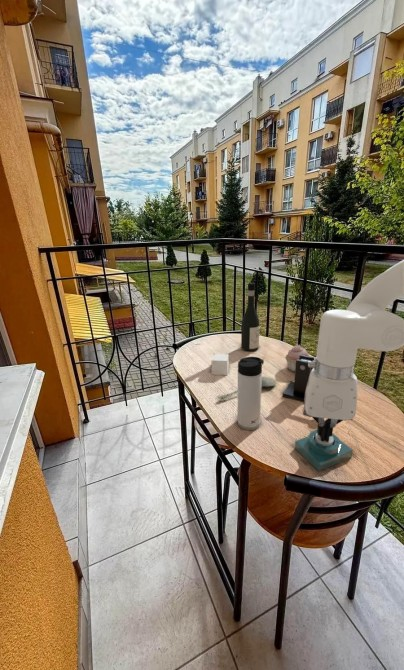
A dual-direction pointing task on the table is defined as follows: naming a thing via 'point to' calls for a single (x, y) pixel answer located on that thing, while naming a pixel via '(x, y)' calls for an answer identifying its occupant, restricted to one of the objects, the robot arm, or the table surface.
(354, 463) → the table surface
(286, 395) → the lever bracket
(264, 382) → the soupspoon
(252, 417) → the travel mug
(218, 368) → the white cube
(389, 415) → the table surface
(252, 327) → the wine bottle
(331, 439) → the flush button
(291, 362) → the cupcake
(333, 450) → the plate
